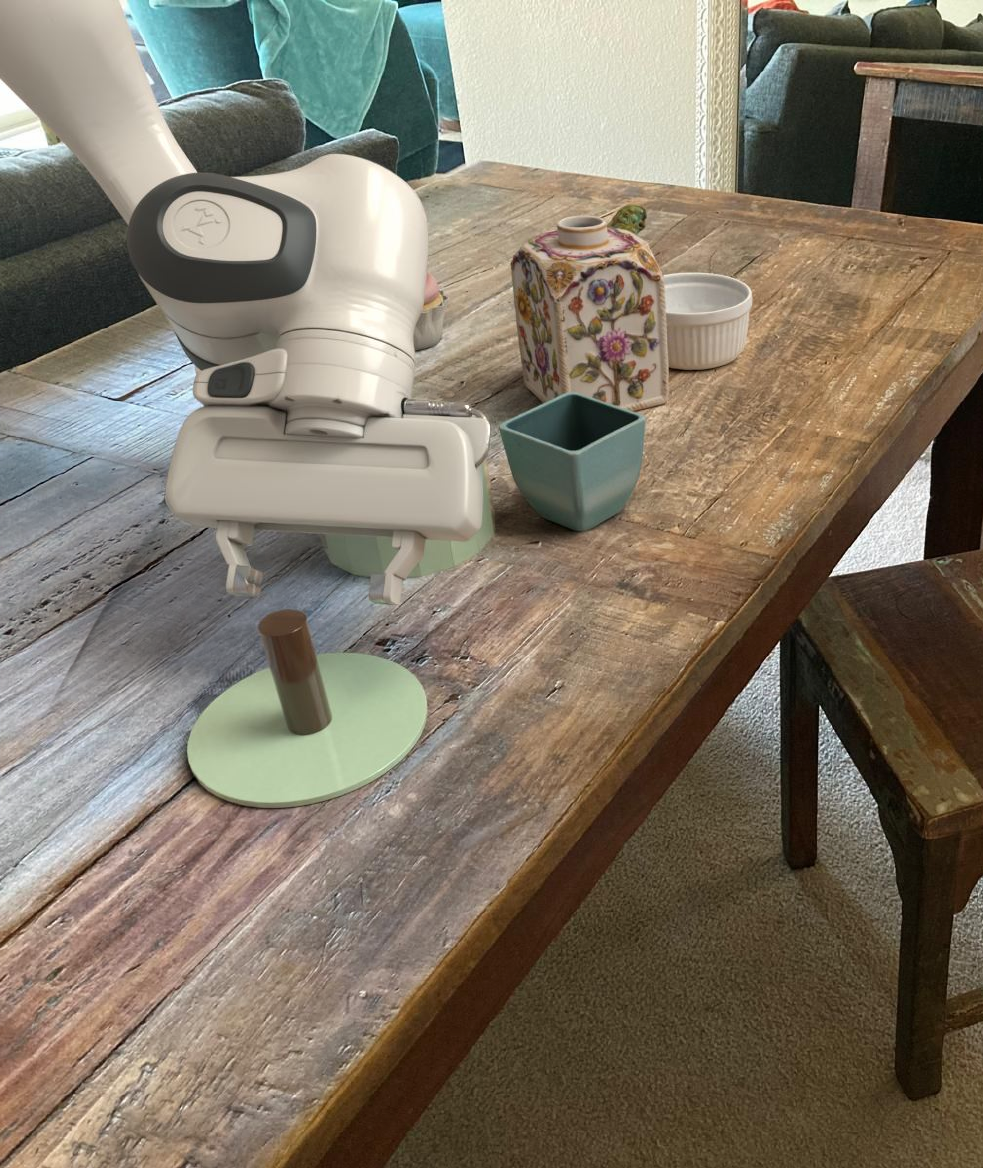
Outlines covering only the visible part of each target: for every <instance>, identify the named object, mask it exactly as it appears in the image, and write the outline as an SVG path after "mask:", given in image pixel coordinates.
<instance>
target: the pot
mask: <svg viewBox="0 0 983 1168" xmlns="http://www.w3.org/2000/svg"><path fill="white" fill-rule="evenodd" d="M415 399H416V400H427V399H426V398H415ZM429 400H430V401H436V402H444V403H445V402H446V403H450V402H449V401H441V400H434V399H429ZM471 418H477V416H475V415H472V416H471ZM487 457H488V456H487ZM487 457H486V459H485V460H484V461H483V463H482V464H481V466H482V478H483V512H482V524H481V528H480V530H479V531H478V532H477V533H476V534H475V535H474V536H473V537H472V538H471V539H470V540H469V541H465V542H464V541H445V540H425V548H424V556H423V557H422V558H421V559H420V561H419V562H418V563H417V565H416V566H415V567H414V569H413V570H412V571H411V572H410V574H409V575H408V576H407V578H406V579H411V578H420V577H424V576H428V575H432V574H435V573H438V572H441V571H446V570H449V569H452V568H455V567H457V566H459V565H460V564H462V563H464V562H466V561H467V560H470V559H471V558H473V557H475V556H476V555H478V554H479V553H481V552H482V550H483V549H484V548H485V547H486V546H487V545H488V544H489V542H490V541H491V540H492V539H493V538H495V537H496V514H495V506H494V500H493V493H492V486H491V485H492V484H491V479H490V472H489V465H488V458H487ZM319 537H320V540H321V545H322V548H323V551H324V552H325V554H326V556H327V558H328V560H329V562H330V564H331V565H334V566H336V567H338V568H339V569H341V570H343V571H345V572H347V573H348V574H350V575H353V576H358V577H366V578H371V573H378V574H384V572H385V570H386V569H387V567H388V566H389V564H390V563H391V561H392V560H393V558H394V557H395V555H396V554H397V553H398V551H399V550H397V549H395V548H394V547H392V538H389V537H371V536H353V535H334V534H319Z"/></svg>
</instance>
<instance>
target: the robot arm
mask: <svg viewBox="0 0 983 1168" xmlns="http://www.w3.org/2000/svg"><path fill="white" fill-rule="evenodd" d="M0 80H1V81H2V82H3V83H4V84H5V85H6V86H7V87H8V89H10V90H11V92H12V93H14V95H16V96H17V98H18V99H20V100H21V101H22V102H23V103H24V104H25V105H26V106H27V108H28V109H30V110H31V112H33V114H35V115H36V116H37V117H38V118H39V120H40V121H41V122H42V123H44V125H46V127H47V128H48V129H50V131H51V132H52V133H53V134H54V135H55V136H56V137H57V138H58V139H59V140H60V141H61V143H63V144H64V145H65V146H66V147H67V148H68V150H70V152H71V153H72V154H73V155H74V156H75V157H76V158H77V159H78V160H79V161H80V163H81V164H82V165H83V167H84V168H85V169H86V171H88V172H89V173H90V175H91V176H92V177H93V178H94V180H95V181H96V183H97V184H98V185H99V187H100V188H101V189H102V191H103V192H104V194H105V195H106V196H107V198H108V200H109V201H110V202H111V204H112V205H113V206H114V208H115V209H116V211H117V212H118V214H119V215H120V216H121V218H122V220H123V222H125V224H126V225H127V232H126V247H127V252H128V255H129V259H130V261H131V264H132V265H133V267H134V269H135V270H136V272H137V274H138V276H139V278H140V280H141V281H142V283H143V285H144V286H145V288H146V289H147V291H148V292H149V294H150V296H151V297H152V299H153V300H154V302H155V304H156V305H157V307H158V308H159V309H160V311H161V313H162V315H163V316H164V317H165V319H166V320H167V322H168V323H169V325H170V326H171V328H172V330H173V331H174V334H175V336H176V338H177V341H178V342H179V344H180V347H181V348H182V350H183V352H184V354H185V355H186V357H187V358H188V360H190V362H191V363H192V364H193V365H194V367H195V366H196V367H197V368H199V369H200V370H201V371H200V372H199V373H198V374H197V375H196V374H195V377H194V379H193V385H192V395H193V396H192V397H194V399H195V400H196V401H198V402H199V403H200V404H201V405H203V406H204V407H203V406H201V407H199V408H197V409H194V410H193V411H192V412H191V413H189V415H188V416H187V417H186V418H185V420H184V421H183V423H182V425H181V426H180V429H179V432H178V434H177V437H176V439H175V444H174V447H173V451H172V455H171V459H170V464H169V468H168V473H167V478H166V482H165V483H166V484H165V490H164V500H165V503H166V505H167V507H168V509H169V511H170V512H171V514H172V516H173V517H175V518H176V519H179V520H181V521H183V522H185V523H187V524H190V525H192V526H195V527H197V528H198V527H199V528H206V529H207V528H209V529H216V532H215V541H216V543H217V545H218V547H219V550H220V552H221V554H222V557H223V559H224V561H225V563H226V565H227V566H228V568H227V575H226V581H225V591H226V593H227V594H230V595H233V596H235V597H247V598H248V597H249V598H250V597H252V598H258V597H259V596H260V595H261V590H262V587H261V583H262V582H263V579H264V571H263V570H260V569H256V567H252V566H251V564H250V561H249V558H248V555H247V553H246V550H245V547H244V546H248V547H250V546H252V545H253V541H254V535H255V531H261V532H262V531H263V532H278V533H279V532H280V533H299V534H317V535H320V534H334V535H353V536H371V537H389V538H392V547H394V548H395V549H397V550H399V551H398V553H397V554H396V555H395V557H394V558H393V560H392V561H391V563H390V564H389V566H388V567H387V569H386V570H385V572H384V574H378V573H371V577H370V580H369V584H370V586H371V587H370V588H369V589H368V600H369V602H371V603H374V604H376V605H387V606H399V605H400V603H401V600H402V599H401V598H402V592H403V584H404V580H406V579H408V578H407V576H408V575H409V574H410V572H411V571H412V570H413V569H414V567H415V566H416V565H417V563H418V562H419V561H420V559H421V558H422V557H423V556H424V548H425V540H445V541H464V542H465V541H469V540H470V539H471V538H472V537H473V536H474V535H475V534H476V533H477V532H478V531H479V530H480V528H481V524H482V512H483V478H482V466H481V464H482V463H483V461H484V460H485V459H486V457H488V454H489V451H490V443H491V435H492V427H491V423H490V421H489V419H488V417H487V416H486V415H485V414H484V413H483V412H481V411H480V410H479V409H476V408H473V405H472V404H471V403H469V402H465V401H455V400H454V401H450V402H449V403H446V402H447V401H443V402H436V401H437V400H435V401H430V400H431V399H426V400H416V399H417V398H412V396H413V389H414V388H413V387H414V380H415V373H416V367H417V365H416V364H417V356H416V350H414V342H413V335H414V330H415V326H416V323H417V321H418V319H419V317H420V315H421V312H422V310H423V305H424V298H425V289H426V280H427V272H428V266H429V251H430V250H429V249H430V247H429V246H430V241H429V239H430V238H429V224H428V217H427V214H426V211H425V208H424V205H423V203H422V200H421V199H420V197H419V196H418V194H417V193H416V191H415V190H414V189H413V188H412V187H411V186H410V185H409V184H408V183H407V182H406V181H405V180H404V179H402V178H401V177H400V176H399V175H397V174H396V173H395V172H394V171H392V170H391V169H389V168H388V167H385V166H384V165H382V164H380V163H378V162H375V161H373V160H370V159H367V158H365V157H361V156H357V155H351V154H345V153H330V154H324V155H322V156H319V157H317V158H316V159H314V160H313V161H311V162H308V163H307V164H305V165H303V166H300V167H298V168H295V169H291V170H288V171H283V172H278V173H269V174H261V175H250V176H249V175H247V176H229V175H226V174H225V175H224V174H221V173H216V172H215V173H214V172H198V171H197V170H196V168H195V166H194V165H193V164H192V162H191V161H190V159H189V158H188V157H187V155H186V154H185V152H184V151H183V149H182V147H181V146H180V144H179V143H178V142H177V140H176V138H175V137H174V134H173V132H172V131H171V129H170V127H169V125H168V124H167V121H166V120H165V118H164V115H163V112H162V111H161V109H160V106H159V104H158V102H157V99H156V97H155V94H154V92H153V89H152V87H151V84H150V82H149V78H148V76H147V73H146V71H145V68H144V65H143V62H142V59H141V57H140V53H139V51H138V48H137V45H136V43H135V40H134V37H133V34H132V31H131V28H130V26H129V22H128V20H127V17H126V15H125V12H124V10H123V7H122V4H121V2H120V0H0ZM444 402H445V403H444ZM472 415H474V416H475V417H476V418H471V416H472Z"/></svg>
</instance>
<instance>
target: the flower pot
mask: <svg viewBox="0 0 983 1168" xmlns="http://www.w3.org/2000/svg"><path fill="white" fill-rule="evenodd" d="M646 422H647V416H646V415H643V414H641V413H639V412H637V411H630V410H627V409H624V408H621V407H618V406H615V405H612V404H609V403H606V402H603V401H600V400H597V399H594V398H591V397H589V396H586V395H583V394H580V393H577V392H567V393H565V394H562V395H560V396H558V397H556V398H554V399H552V400H550V401H548V402H546V403H543V402H542V404H540V405H538V406H537V405H536V406H535V407H533V408H531V409H529V410H527V411H524V412H522V413H520V414H518V415H516V416H513V417H512V418H510V419H507V420H505V421H504V422H502V423H500V424H499V425H498V430H499V433H500V437H501V442H502V445H503V449H504V452H505V455H506V460H507V462H508V463H507V464H508V466H509V470H510V473H511V475H512V479H513V480H514V483H515V485H516V487H517V488H518V490H519V492H520V494H521V495H522V497H523V499H525V500H526V502H527V503H528V504H529V506H531V508H533V510H534V511H535V512H536V513H537V514H538V515H539V516H540V517H542V518H543V519H545V520H548V521H551V522H553V523H555V524H557V525H560V526H563V527H564V528H567V529H569V530H572V531H573V532H580V533H581V532H582V533H583V532H586V531H587V532H588V531H590V530H592V529H593V528H595V527H597V526H598V525H600V524H602V523H603V522H605V521H607V520H608V519H611V518H612V517H613V516H615V515H617V514H619V513H620V512H621V511H622V510H623V509H624V507H625V506H626V504H627V503H628V501H629V500H630V498H631V496H632V495H633V493H634V490H635V488H636V486H637V484H638V481H639V478H640V474H641V470H642V465H643V456H644V447H645V434H646Z"/></svg>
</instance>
